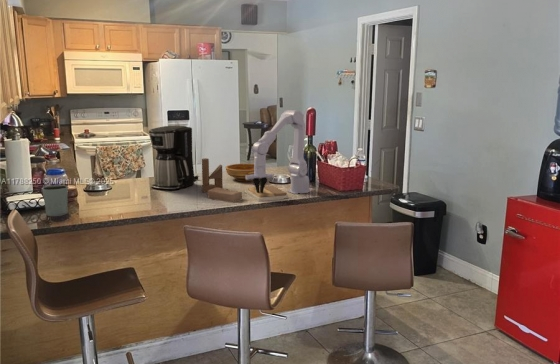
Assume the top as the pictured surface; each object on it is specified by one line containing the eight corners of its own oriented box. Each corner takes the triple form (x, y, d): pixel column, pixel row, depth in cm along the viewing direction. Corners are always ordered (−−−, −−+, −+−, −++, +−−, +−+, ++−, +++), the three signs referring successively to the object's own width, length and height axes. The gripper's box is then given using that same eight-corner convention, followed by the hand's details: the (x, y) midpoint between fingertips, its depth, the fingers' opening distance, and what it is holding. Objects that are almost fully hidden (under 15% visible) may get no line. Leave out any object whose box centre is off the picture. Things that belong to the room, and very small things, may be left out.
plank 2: (267, 192, 240) (268, 190, 239) (274, 196, 232) (274, 193, 231) (253, 193, 236) (253, 190, 236) (259, 196, 229) (259, 194, 228)
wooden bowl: (218, 177, 288) (218, 164, 287) (253, 173, 299) (253, 161, 297) (235, 186, 262) (235, 172, 261) (273, 182, 273) (274, 169, 272)
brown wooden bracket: (222, 191, 249) (222, 158, 246) (203, 192, 245) (202, 159, 241) (220, 189, 253) (220, 157, 249) (201, 191, 248) (200, 158, 245)
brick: (243, 199, 232) (243, 190, 231) (233, 203, 225) (233, 193, 224) (217, 195, 240) (216, 187, 240) (206, 199, 233) (206, 190, 232)
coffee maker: (146, 190, 250) (142, 128, 243) (164, 179, 281) (161, 123, 274) (187, 191, 248) (185, 129, 241) (201, 179, 280) (199, 124, 273)
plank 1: (261, 188, 248) (261, 186, 248) (267, 192, 240) (267, 190, 240) (247, 190, 245) (247, 187, 245) (253, 193, 237) (253, 191, 237)
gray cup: (39, 216, 200) (36, 189, 197) (54, 210, 210) (51, 184, 207) (60, 217, 198) (58, 190, 196) (74, 211, 208) (72, 185, 206)
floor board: (273, 190, 252) (273, 185, 251) (287, 198, 234) (288, 193, 233) (245, 192, 246) (245, 187, 245) (258, 201, 228) (258, 195, 227)
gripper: (270, 164, 237) (270, 190, 239) (243, 165, 231) (243, 192, 234) (275, 166, 230) (275, 192, 233) (248, 167, 225) (248, 195, 227)
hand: (259, 192), depth 233 cm, fingers closed on plank 2
